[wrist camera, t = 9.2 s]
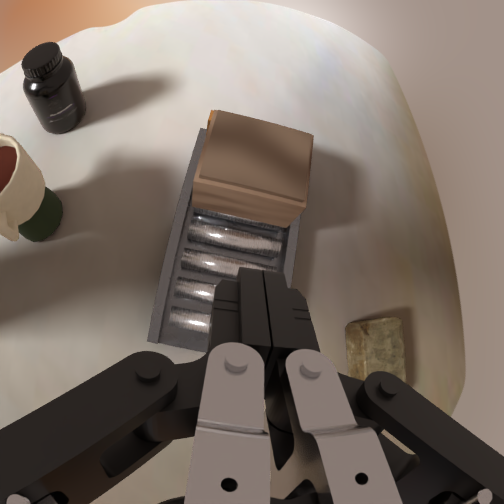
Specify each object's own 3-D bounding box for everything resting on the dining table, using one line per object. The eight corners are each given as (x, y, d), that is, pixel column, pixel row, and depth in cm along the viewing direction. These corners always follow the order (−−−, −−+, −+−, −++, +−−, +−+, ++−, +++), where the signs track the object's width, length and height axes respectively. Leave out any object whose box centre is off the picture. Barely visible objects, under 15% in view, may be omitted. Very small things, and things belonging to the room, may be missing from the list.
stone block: (381, 316, 38) (404, 314, 33) (386, 404, 35) (409, 411, 30) (340, 322, 36) (362, 321, 32) (346, 415, 34) (367, 425, 29)
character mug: (15, 188, 32) (-36, 136, 20) (61, 169, 34) (22, 107, 21) (24, 270, 30) (-39, 241, 18) (75, 251, 32) (24, 211, 20)
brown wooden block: (286, 228, 34) (308, 205, 28) (191, 206, 32) (193, 177, 26) (295, 163, 36) (315, 132, 30) (209, 142, 35) (214, 105, 28)
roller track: (270, 362, 34) (290, 370, 27) (150, 340, 32) (140, 343, 25) (300, 165, 40) (320, 136, 33) (199, 140, 38) (202, 106, 31)
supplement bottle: (68, 141, 35) (38, 82, 23) (34, 128, 34) (1, 73, 23) (96, 102, 37) (78, 39, 25) (62, 92, 36) (39, 33, 25)
